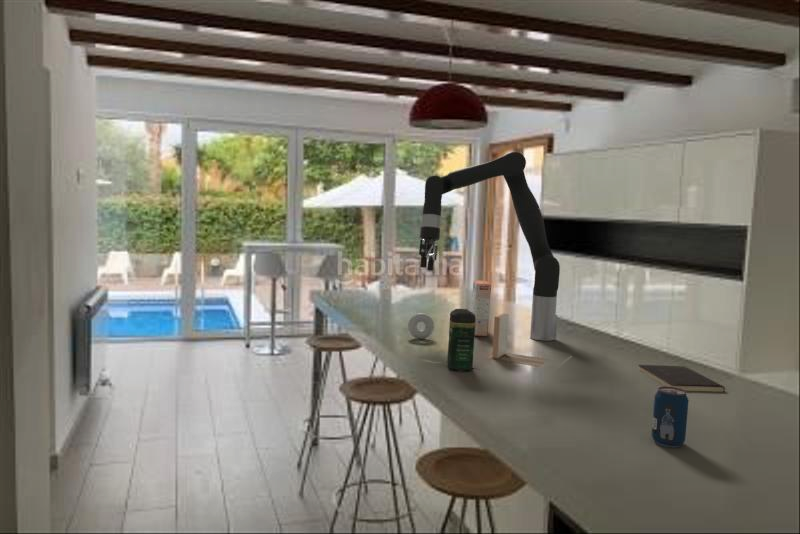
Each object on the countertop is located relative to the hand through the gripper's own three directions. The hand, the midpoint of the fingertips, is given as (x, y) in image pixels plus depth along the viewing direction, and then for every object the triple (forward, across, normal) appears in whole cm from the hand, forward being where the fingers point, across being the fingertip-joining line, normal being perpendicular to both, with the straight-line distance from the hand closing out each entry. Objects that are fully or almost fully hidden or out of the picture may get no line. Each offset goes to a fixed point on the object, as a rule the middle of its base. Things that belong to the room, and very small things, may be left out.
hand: (426, 269), depth 244 cm
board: (+31, -14, -39) cm, 52 cm away
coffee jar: (+35, -33, -25) cm, 54 cm away
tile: (+30, -13, -33) cm, 47 cm away
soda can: (+45, -72, -85) cm, 120 cm away
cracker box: (+22, +24, -17) cm, 37 cm away
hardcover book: (+32, -12, -89) cm, 96 cm away
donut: (+27, 0, 0) cm, 27 cm away
